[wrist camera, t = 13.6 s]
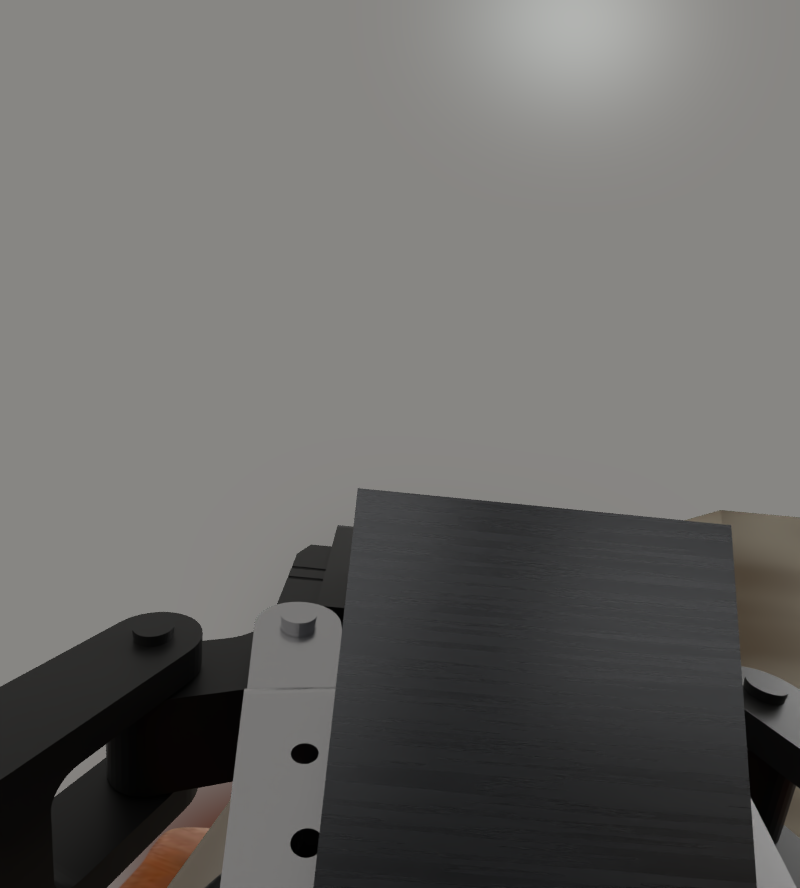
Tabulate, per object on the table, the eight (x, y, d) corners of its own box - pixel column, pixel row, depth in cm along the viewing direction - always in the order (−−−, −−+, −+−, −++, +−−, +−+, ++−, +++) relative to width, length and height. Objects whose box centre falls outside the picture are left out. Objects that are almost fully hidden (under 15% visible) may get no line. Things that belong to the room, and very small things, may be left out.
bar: (414, 660, 33) (418, 604, 33) (764, 978, 4) (731, 525, 5) (360, 655, 33) (365, 599, 33) (306, 944, 4) (358, 488, 5)
